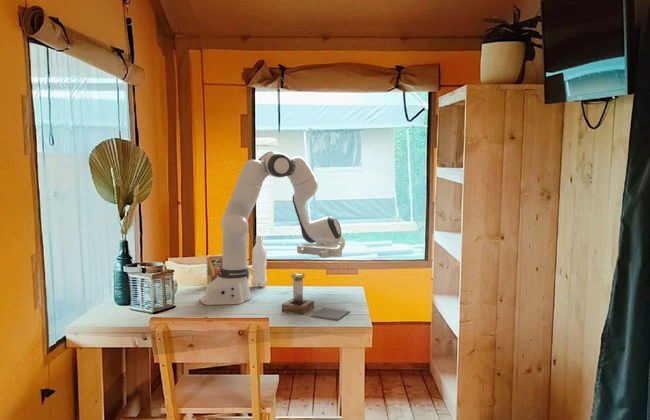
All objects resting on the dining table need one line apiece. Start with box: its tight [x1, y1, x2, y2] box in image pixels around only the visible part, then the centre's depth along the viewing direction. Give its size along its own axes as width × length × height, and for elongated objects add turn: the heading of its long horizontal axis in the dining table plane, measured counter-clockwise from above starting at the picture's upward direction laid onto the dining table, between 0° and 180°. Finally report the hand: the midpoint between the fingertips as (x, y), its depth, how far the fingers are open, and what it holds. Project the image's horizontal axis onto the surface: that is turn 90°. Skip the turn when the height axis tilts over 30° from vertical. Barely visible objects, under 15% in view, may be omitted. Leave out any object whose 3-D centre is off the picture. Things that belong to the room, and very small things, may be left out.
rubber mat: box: [310, 306, 351, 322], centre depth 213 cm, size 12×12×1 cm
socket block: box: [281, 298, 315, 315], centre depth 220 cm, size 10×10×3 cm
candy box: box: [206, 254, 223, 286], centre depth 257 cm, size 9×4×15 cm, turn 111°
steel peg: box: [290, 272, 306, 305], centre depth 219 cm, size 6×6×15 cm
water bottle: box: [251, 235, 268, 288], centre depth 256 cm, size 7×7×25 cm
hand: (311, 253), depth 228 cm, fingers open, 8 cm apart
